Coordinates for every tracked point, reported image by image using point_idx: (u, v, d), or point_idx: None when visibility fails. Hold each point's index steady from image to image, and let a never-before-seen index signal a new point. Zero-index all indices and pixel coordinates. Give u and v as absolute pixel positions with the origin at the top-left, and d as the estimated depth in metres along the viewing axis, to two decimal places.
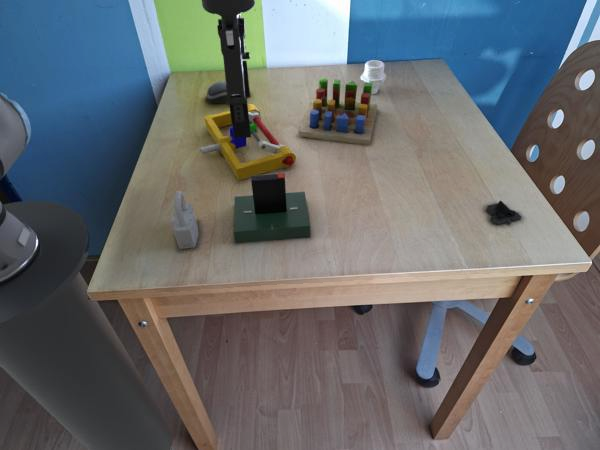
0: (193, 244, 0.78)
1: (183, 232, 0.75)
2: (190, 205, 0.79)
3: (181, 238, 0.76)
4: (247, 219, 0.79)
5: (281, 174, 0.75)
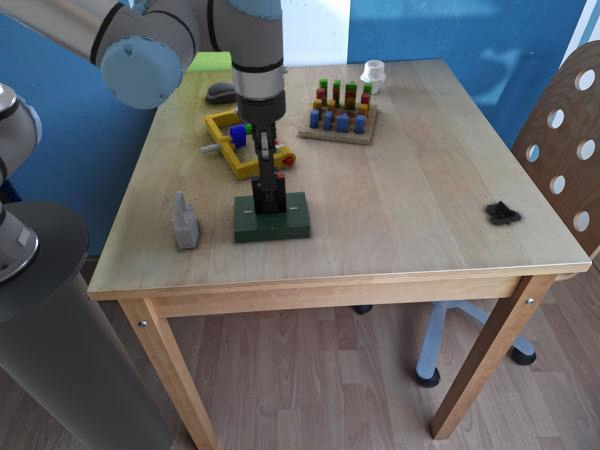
0: (193, 244, 0.78)
1: (183, 232, 0.75)
2: (190, 205, 0.79)
3: (181, 238, 0.76)
4: (247, 219, 0.79)
5: (281, 174, 0.75)
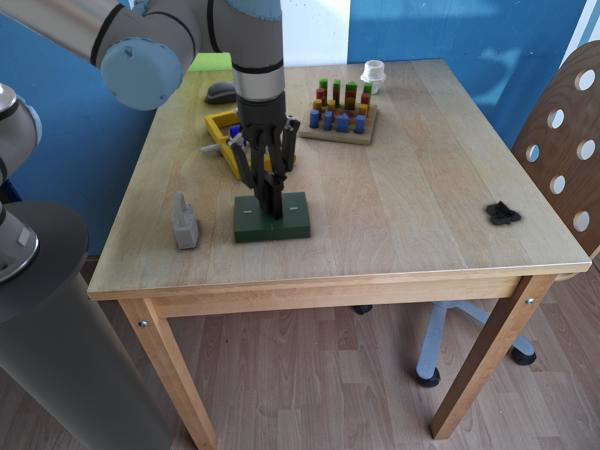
0: (193, 244, 0.78)
1: (183, 232, 0.75)
2: (190, 205, 0.79)
3: (181, 238, 0.76)
4: (247, 219, 0.79)
5: None
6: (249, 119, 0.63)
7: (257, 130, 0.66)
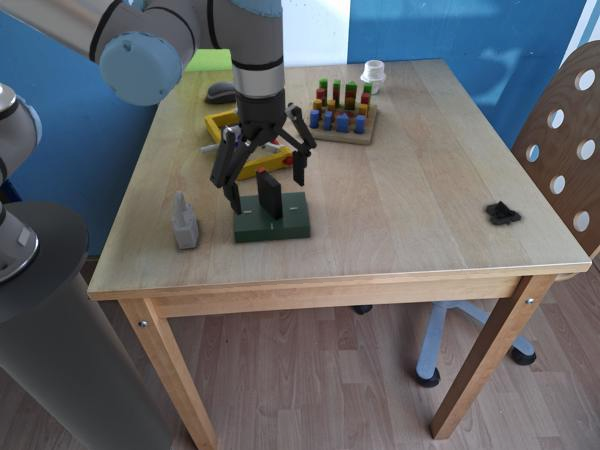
0: (193, 244, 0.78)
1: (183, 232, 0.75)
2: (190, 205, 0.79)
3: (181, 238, 0.76)
4: (247, 219, 0.79)
5: (259, 169, 0.76)
6: (248, 116, 0.63)
7: (259, 126, 0.66)
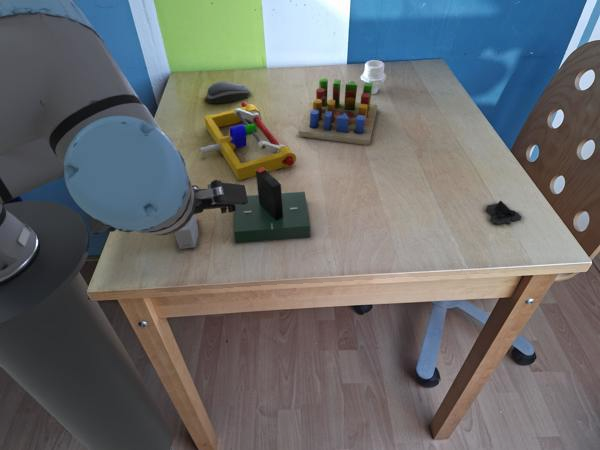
0: (193, 244, 0.78)
1: (183, 232, 0.75)
2: None
3: (181, 238, 0.76)
4: (247, 219, 0.79)
5: (259, 169, 0.76)
6: None
7: None
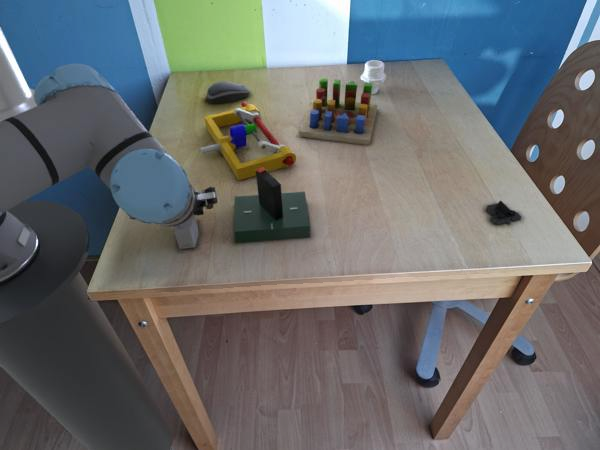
0: (193, 244, 0.78)
1: (183, 232, 0.75)
2: None
3: (181, 238, 0.76)
4: (247, 219, 0.79)
5: (259, 169, 0.76)
6: None
7: None
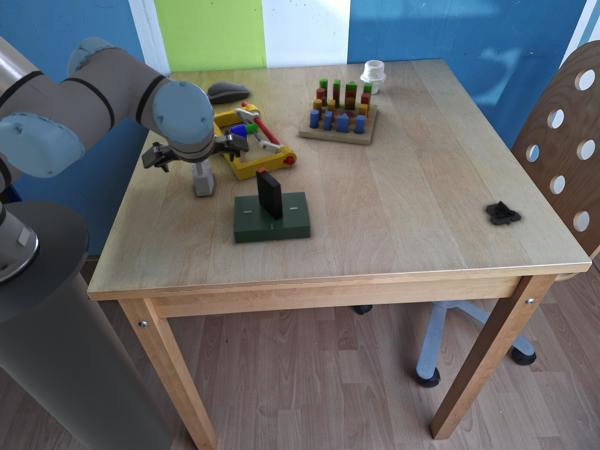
0: (209, 191, 0.88)
1: (201, 179, 0.86)
2: None
3: (199, 185, 0.87)
4: (247, 219, 0.79)
5: (259, 169, 0.76)
6: None
7: None
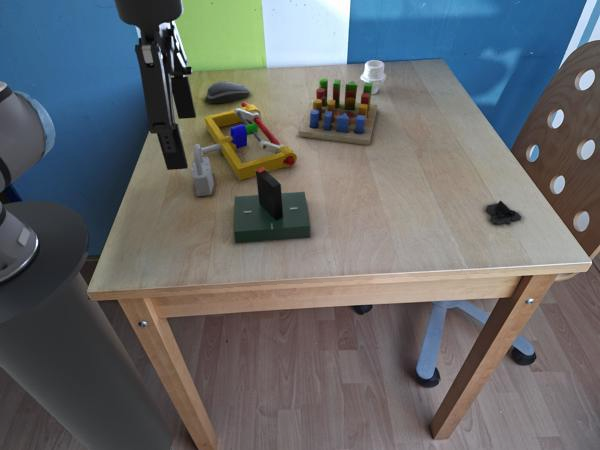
0: (209, 191, 0.88)
1: (201, 179, 0.86)
2: (206, 158, 0.90)
3: (199, 185, 0.87)
4: (247, 219, 0.79)
5: (259, 169, 0.76)
6: (161, 16, 0.48)
7: (164, 33, 0.51)
